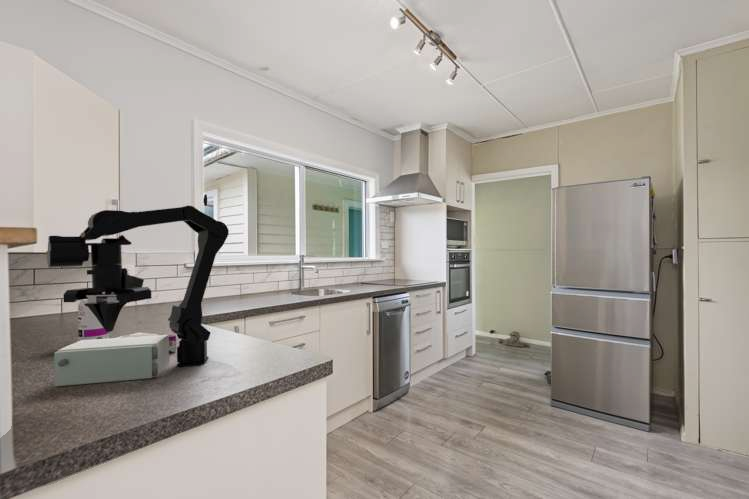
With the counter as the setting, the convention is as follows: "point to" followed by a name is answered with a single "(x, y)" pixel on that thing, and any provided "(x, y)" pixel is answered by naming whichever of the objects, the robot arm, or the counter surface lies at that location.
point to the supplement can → (89, 324)
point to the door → (105, 365)
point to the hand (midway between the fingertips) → (109, 331)
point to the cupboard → (155, 340)
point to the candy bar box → (171, 338)
